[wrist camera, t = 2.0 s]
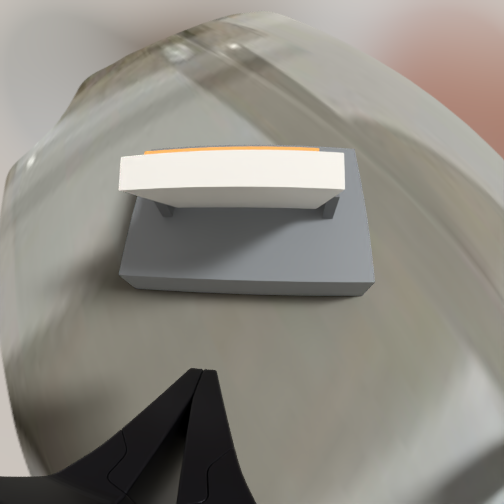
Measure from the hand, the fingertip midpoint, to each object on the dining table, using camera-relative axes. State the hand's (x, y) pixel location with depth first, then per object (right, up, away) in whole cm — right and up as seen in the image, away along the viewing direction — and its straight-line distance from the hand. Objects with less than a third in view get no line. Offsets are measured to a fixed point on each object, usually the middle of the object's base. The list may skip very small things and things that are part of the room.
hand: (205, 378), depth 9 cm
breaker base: (+1, +6, +16) cm, 18 cm away
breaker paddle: (+1, +8, +13) cm, 15 cm away
